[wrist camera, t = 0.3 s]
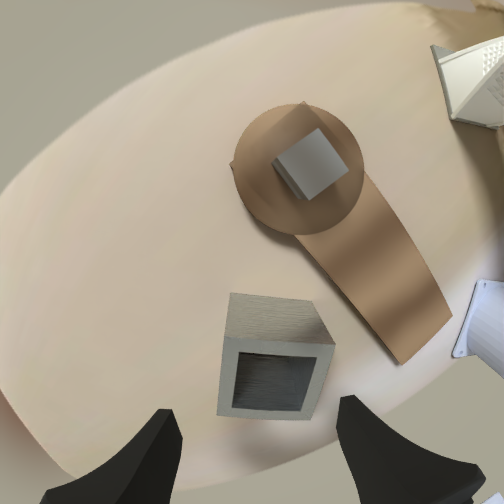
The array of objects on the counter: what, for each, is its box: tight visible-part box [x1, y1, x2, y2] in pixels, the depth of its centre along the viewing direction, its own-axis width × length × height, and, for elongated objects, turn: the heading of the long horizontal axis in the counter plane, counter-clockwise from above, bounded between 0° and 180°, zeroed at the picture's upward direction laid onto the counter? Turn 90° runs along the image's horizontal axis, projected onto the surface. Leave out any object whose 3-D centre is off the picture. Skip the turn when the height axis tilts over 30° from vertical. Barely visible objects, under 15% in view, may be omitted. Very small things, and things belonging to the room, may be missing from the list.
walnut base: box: [229, 101, 453, 365], centre depth 16 cm, size 21×8×4 cm, turn 43°
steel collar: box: [217, 293, 336, 420], centre depth 17 cm, size 6×6×6 cm
